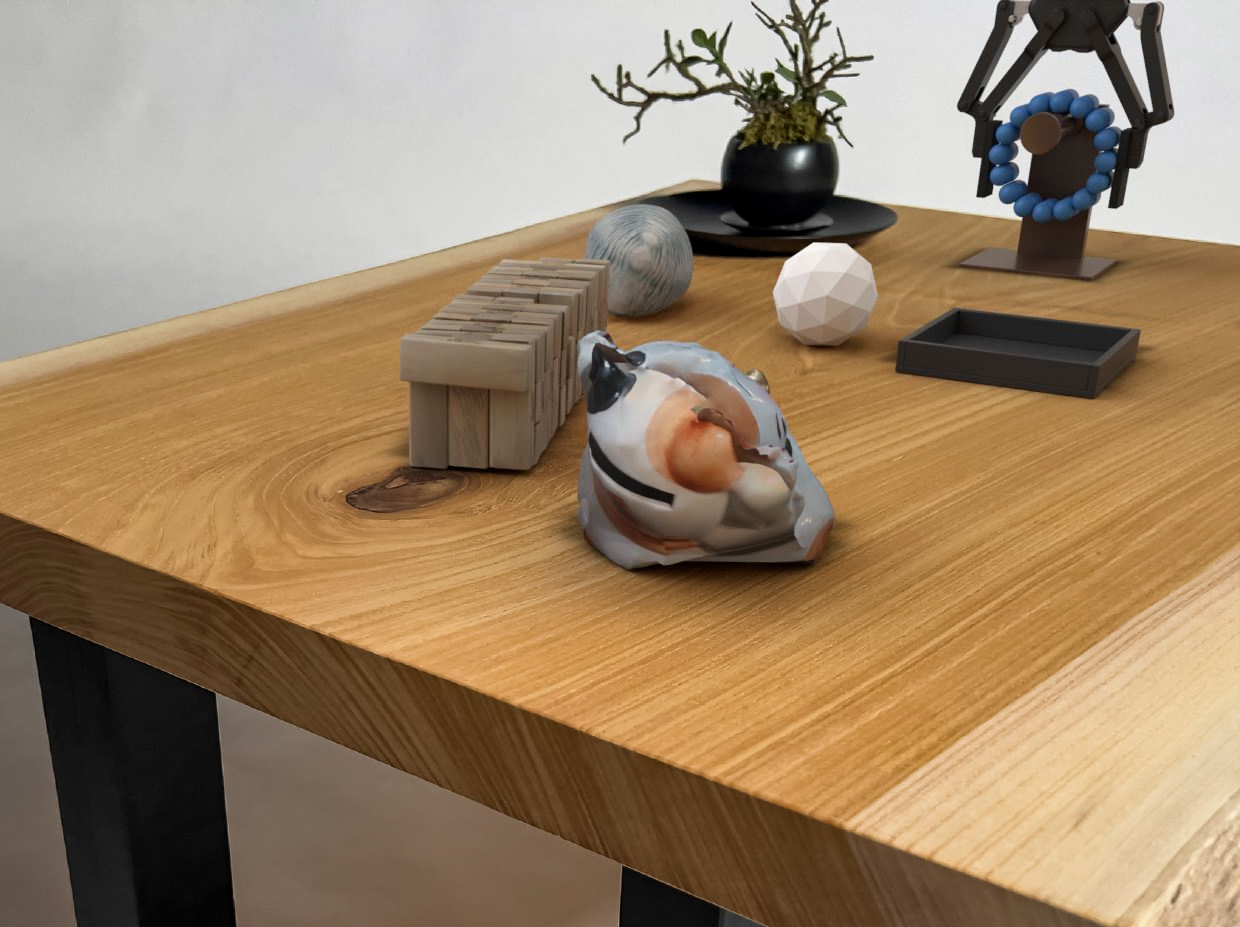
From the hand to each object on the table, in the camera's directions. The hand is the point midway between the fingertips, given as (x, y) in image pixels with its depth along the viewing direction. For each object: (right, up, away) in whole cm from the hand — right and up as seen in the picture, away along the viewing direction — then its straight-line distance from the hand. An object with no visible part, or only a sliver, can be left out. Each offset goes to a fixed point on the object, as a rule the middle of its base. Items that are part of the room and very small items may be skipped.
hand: (1048, 201), depth 147 cm
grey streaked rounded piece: (-39, -13, -11) cm, 42 cm away
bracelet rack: (0, -6, +3) cm, 6 cm away
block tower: (-50, -28, -40) cm, 70 cm away
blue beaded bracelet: (0, +3, -2) cm, 4 cm away
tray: (-12, -22, -28) cm, 38 cm away
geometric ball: (-26, -19, -22) cm, 39 cm away
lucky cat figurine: (-41, -41, -64) cm, 86 cm away
